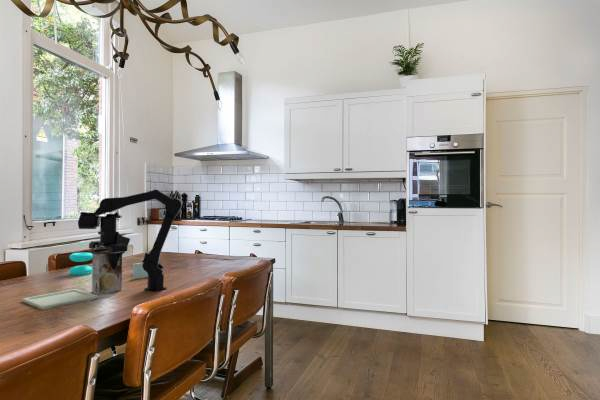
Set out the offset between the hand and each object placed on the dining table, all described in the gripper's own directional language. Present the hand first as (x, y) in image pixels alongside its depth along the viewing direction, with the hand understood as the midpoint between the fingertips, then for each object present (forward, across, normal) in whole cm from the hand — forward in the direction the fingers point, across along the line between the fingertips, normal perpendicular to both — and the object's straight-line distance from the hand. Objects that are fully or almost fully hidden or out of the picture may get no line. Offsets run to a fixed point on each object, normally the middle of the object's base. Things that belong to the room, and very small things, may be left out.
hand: (107, 267), depth 149 cm
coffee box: (+10, 0, 0) cm, 10 cm away
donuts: (+10, +42, -10) cm, 44 cm away
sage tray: (+10, 0, +17) cm, 19 cm away
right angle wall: (+10, +18, -26) cm, 33 cm away
